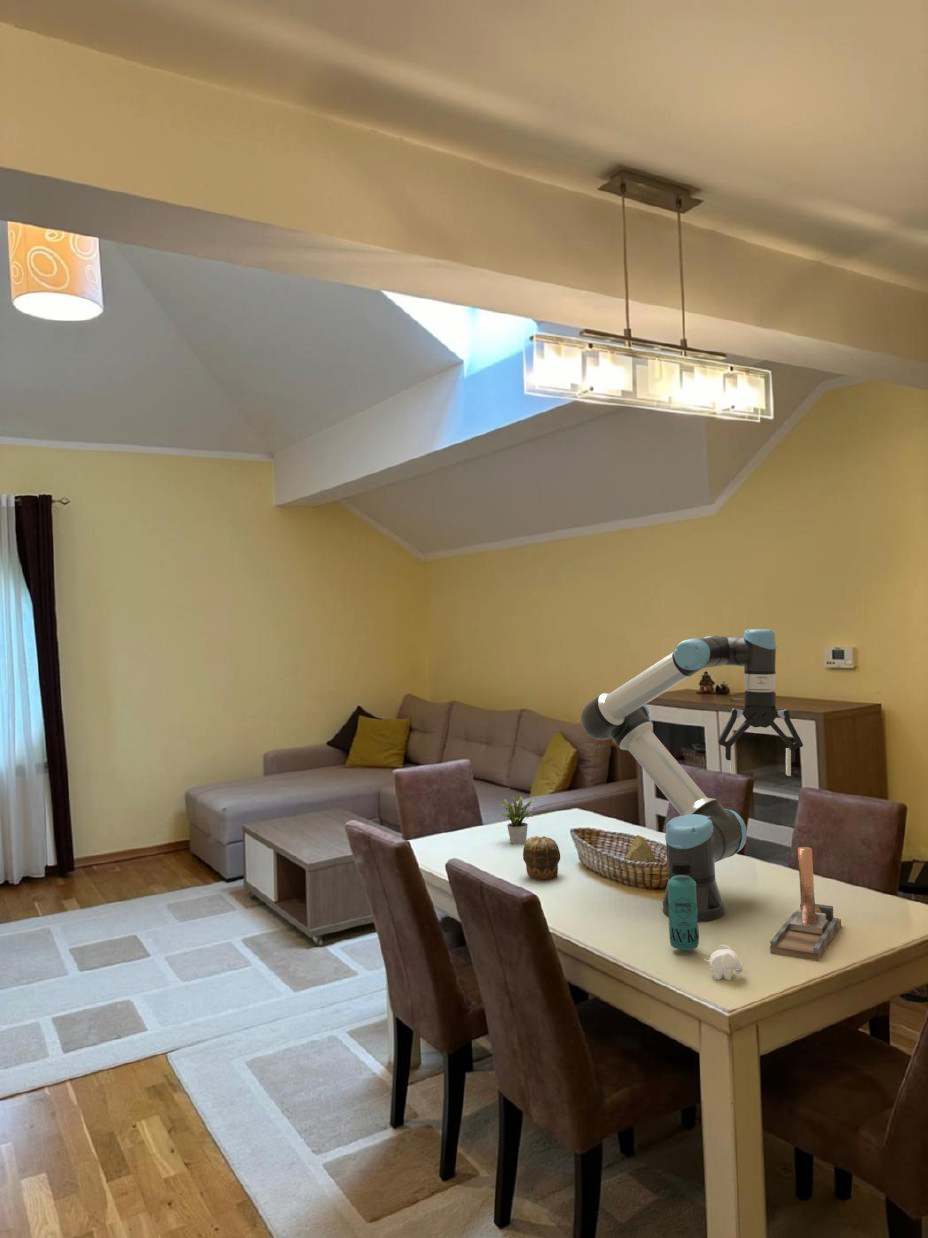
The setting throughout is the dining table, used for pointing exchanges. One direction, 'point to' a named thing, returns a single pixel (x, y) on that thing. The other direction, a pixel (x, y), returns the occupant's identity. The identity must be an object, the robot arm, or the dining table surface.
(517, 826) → the house plant
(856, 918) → the dining table surface
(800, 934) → the nutcracker base
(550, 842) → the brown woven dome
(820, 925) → the copper post
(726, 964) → the elephant figurine
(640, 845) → the rock
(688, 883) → the beverage bottle
